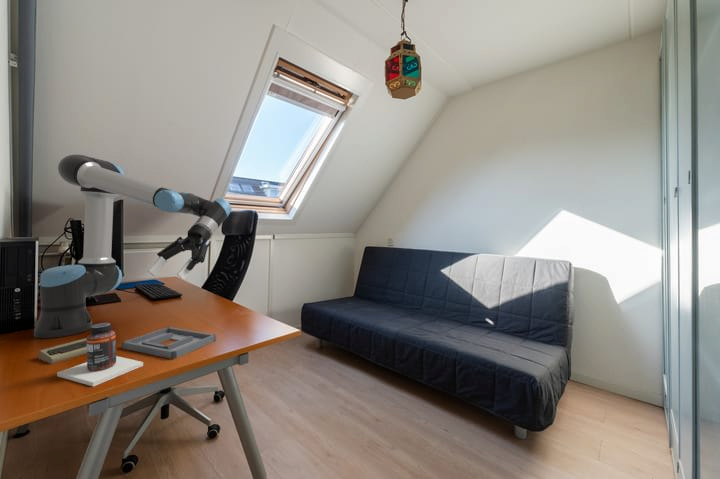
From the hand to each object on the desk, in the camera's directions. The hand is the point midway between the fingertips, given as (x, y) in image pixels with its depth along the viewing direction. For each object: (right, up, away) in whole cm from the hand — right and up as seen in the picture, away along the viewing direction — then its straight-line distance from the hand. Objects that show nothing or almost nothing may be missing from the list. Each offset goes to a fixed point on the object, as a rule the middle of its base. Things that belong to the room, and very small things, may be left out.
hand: (165, 275), depth 103 cm
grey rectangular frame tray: (+4, -22, -3) cm, 23 cm away
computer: (-20, -23, -9) cm, 32 cm away
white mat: (-3, -23, -22) cm, 32 cm away
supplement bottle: (-3, -22, -21) cm, 31 cm away
